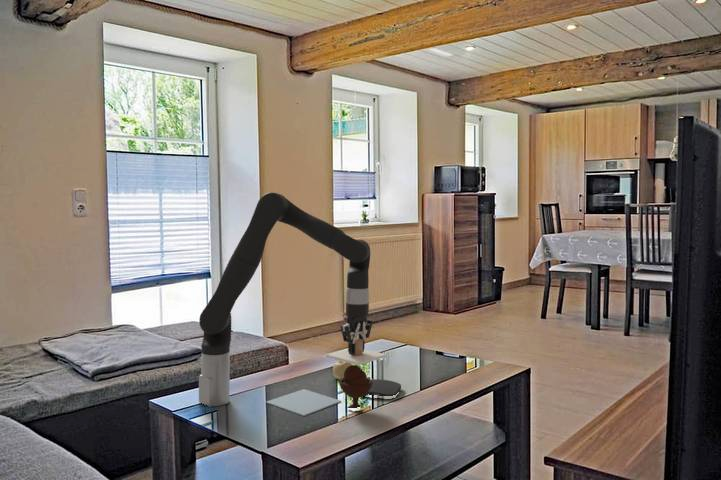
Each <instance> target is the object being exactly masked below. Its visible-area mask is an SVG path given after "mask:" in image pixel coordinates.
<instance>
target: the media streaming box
mask: <svg viewBox="0 0 721 480" xmlns="http://www.w3.org/2000/svg"><path fill="white" fill-rule="evenodd" d="M371 380H372V381H373V384H372V387H371V389H370V390H369V391H368V392H367V393H366V394H365V395H364V396H366V395H368V394H369V395H373V396H374V395H379V396H393V395H396V394H397V393H398V392H399V391H400V389H401V390H402V384H401V383H399V382H396V381H393V380H387V379H378V378H376V379H371ZM400 392H401V391H400Z"/></svg>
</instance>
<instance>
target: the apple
mask: <svg viewBox="0 0 721 480" xmlns="http://www.w3.org/2000/svg"><path fill="white" fill-rule="evenodd" d="M351 365H353V364H352V363H348V362H344V361H340V360H336V362H335V363H334V364H333V366H332V375H333V377H334V378H335V379H336V380H338V381H340V380H341V379H342V378H343V377H344V371H345V369H346V368H347V367H349V366H351Z"/></svg>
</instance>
